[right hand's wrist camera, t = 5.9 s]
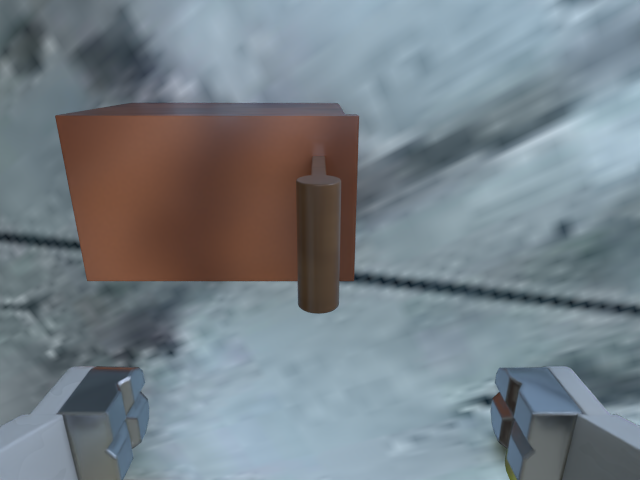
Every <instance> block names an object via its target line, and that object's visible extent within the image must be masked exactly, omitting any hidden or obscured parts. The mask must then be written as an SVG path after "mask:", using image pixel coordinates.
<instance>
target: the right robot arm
mask: <svg viewBox="0 0 640 480" xmlns="http://www.w3.org/2000/svg"><path fill="white" fill-rule="evenodd" d="M144 384H145V379H144V374H143V370H141V369H140V368H139V367H105V366H96V367H94V366H74V367H72V368H69V369H68V370H67V371H66V372H65V374H64V375H63V376H62V377H61V378H60V379H59V381H58V382H57V383H56V384H55V385H54V386H53V388H52V389H51V390H50V391H49V392H48V393H47V395H46V396H45V397H44V398H43V399H42V401H41V402H40V403H39V404H38V405H37V406H36V408H35V409H34V410H33V411H32V412H31V413H30V415H21V416H19V417H17V418H15V419H13V420H11V421H9V422H7V423H6V424H4V425H2V426H0V480H123V479H124V477H125V475H126V473H127V471H128V469H129V467H130V465H131V462H132V460H133V453H132V449H133V448H134V447H135V446H137V445H138V444H140V443H141V442H142V440H143V437H144V435H145V433H146V430H147V425H148V421H149V404H148V399H147V398H146V397H145V396H144V395H143V394H142V393H141V392H140V391H141V389H142V388H143V386H144ZM495 384H496V386H497V388H498V390H499V391H500V392H499V393H498V394H497V395H496V396H495V397H494V398H493V399H492V405H491V420H492V426H493V430H494V433H495V435H496V437H497V440H498V442H499V443H500V444H502V445H503V446H505V447H506V448H507V449H508V453H507V460H508V463H509V465H510V467H511V469H512V471H513V473H514V475H515V477H516V479H517V480H640V426H638V425H636V424H634V423H632V422H631V421H629V420H627V419H625V418H623V417H621V416H619V415H610V413H609V412H608V411H607V410H606V409H605V408H604V406H603V405H602V404H601V403H600V402H599V401H598V399H597V398H596V397H595V396H594V395H593V394H592V392H591V391H590V390H589V389H588V388H587V387H586V385H585V384H584V383H583V382H582V381H581V380H580V378H579V377H578V376H577V375H576V374H575V373H574V371H573V370H572V369H571V368H569V367H567V366H549V367H523V368H499V369H498V371H497V373H496V379H495Z"/></svg>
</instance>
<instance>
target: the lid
mask: <svg viewBox="0 0 640 480" xmlns="http://www.w3.org/2000/svg"><path fill="white" fill-rule="evenodd" d="M55 118H56V123H57V128H58V133H59V138H60V143H61V148H62V154H63V159H64V164H65V169H66V174H67V179H68V184H69V190H70V195H71V200H72V205H73V210H74V215H75V221H76V226H77V231H78V236H79V241H80V246H81V251H82V257H83V262H84V267H85V272H86V277H87V281H298V305H299V307H300V308H301V309H302V310H304V311H307V312H310V313H327V312H330V311H333V310H335V309H336V308H337V307H338V305H339V281H354V264H355V231H356V198H357V166H358V133H359V116H358V115H357V114H61V115H56V116H55Z"/></svg>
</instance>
